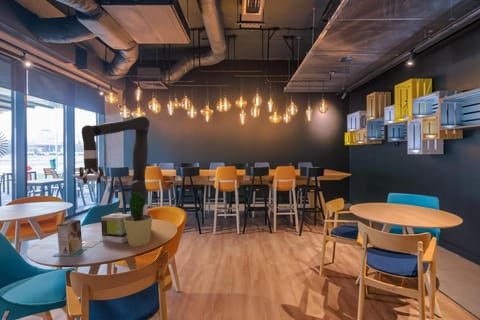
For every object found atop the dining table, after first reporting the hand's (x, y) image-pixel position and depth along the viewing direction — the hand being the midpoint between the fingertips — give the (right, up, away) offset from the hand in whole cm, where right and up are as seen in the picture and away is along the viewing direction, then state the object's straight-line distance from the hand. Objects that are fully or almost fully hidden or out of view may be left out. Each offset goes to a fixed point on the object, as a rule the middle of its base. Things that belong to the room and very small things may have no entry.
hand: (92, 183), depth 166 cm
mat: (+3, -35, -25) cm, 43 cm away
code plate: (+2, -34, -13) cm, 36 cm away
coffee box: (+3, -34, -25) cm, 43 cm away
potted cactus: (+35, -33, -14) cm, 50 cm away
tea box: (+19, -33, -7) cm, 39 cm away
